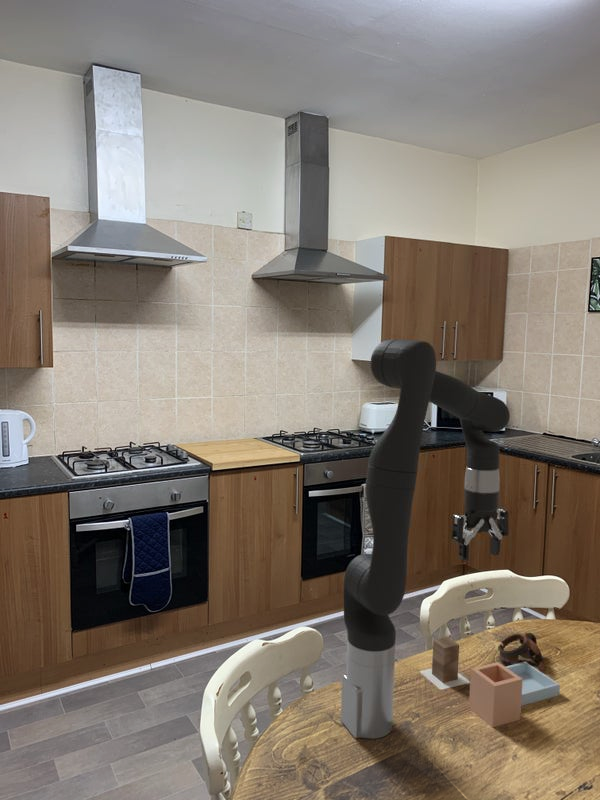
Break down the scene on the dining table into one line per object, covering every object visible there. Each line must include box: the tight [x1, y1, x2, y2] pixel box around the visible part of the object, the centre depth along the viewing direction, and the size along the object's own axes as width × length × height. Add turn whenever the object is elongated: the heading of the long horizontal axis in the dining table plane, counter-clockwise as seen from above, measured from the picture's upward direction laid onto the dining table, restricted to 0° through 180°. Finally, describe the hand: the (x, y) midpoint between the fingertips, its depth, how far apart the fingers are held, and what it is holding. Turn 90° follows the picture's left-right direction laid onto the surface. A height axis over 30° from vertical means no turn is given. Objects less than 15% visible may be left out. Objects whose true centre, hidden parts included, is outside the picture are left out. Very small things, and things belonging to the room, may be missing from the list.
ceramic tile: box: [418, 667, 470, 691], centre depth 137 cm, size 8×8×1 cm
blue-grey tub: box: [505, 661, 561, 707], centre depth 132 cm, size 13×10×3 cm
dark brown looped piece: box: [497, 632, 546, 673], centre depth 144 cm, size 12×10×8 cm
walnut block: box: [431, 636, 460, 683], centre depth 136 cm, size 4×4×8 cm
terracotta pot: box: [468, 661, 523, 728], centre depth 123 cm, size 7×7×9 cm
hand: (479, 557), depth 139 cm, fingers open, 8 cm apart
